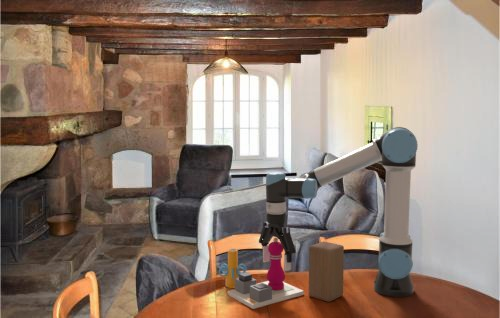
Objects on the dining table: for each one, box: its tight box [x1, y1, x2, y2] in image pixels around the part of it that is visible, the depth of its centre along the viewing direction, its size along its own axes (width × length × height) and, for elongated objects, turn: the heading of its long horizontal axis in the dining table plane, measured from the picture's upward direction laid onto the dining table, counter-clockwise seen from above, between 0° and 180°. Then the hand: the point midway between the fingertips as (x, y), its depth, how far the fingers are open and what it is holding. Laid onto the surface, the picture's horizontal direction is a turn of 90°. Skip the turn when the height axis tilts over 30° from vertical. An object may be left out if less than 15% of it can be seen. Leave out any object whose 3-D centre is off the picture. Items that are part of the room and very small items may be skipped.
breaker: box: [239, 271, 253, 282], centre depth 198 cm, size 4×4×4 cm
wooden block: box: [308, 241, 345, 303], centre depth 196 cm, size 10×10×20 cm
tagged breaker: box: [254, 284, 268, 290], centre depth 190 cm, size 4×4×4 cm
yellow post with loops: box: [218, 248, 248, 289], centre depth 207 cm, size 12×10×15 cm
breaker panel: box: [227, 277, 305, 310], centre depth 198 cm, size 17×24×6 cm
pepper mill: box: [266, 237, 286, 290], centre depth 200 cm, size 7×7×20 cm
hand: (276, 266), depth 200 cm, fingers open, 13 cm apart
